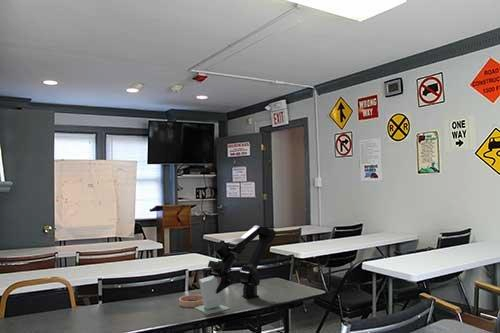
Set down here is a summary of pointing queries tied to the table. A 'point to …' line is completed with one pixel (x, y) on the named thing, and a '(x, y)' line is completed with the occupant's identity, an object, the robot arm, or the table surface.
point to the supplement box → (210, 292)
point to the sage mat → (211, 309)
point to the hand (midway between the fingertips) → (209, 291)
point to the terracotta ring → (186, 303)
